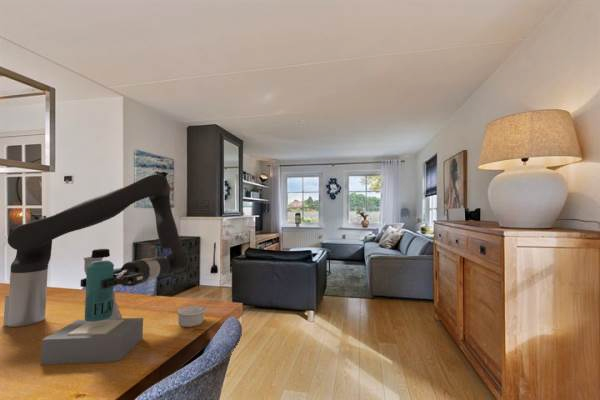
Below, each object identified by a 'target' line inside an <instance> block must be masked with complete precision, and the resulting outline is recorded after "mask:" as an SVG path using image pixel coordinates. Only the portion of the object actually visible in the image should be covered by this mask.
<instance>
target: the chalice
mask: <svg viewBox="0 0 600 400" xmlns="http://www.w3.org/2000/svg"><path fill="white" fill-rule="evenodd" d="M103 259H104V257H103V258H91V256H86V257H83V260H84V265H83V266H84V267H83V268H84V269H83V270H84V274H86V272H87V269H86V267H87V266H88V265H89V264H90V263H91V262H95V261H103ZM83 302H84V303H85V300H84V301H83Z"/></svg>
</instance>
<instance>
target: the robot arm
mask: <svg viewBox="0 0 600 400" xmlns="http://www.w3.org/2000/svg"><path fill="white" fill-rule="evenodd" d="M170 190H171V189H170V185H169V181H168V179H167V178H166V177H165V175H162V174H161V173H152V174H148V175H146V176H144V177H142V178H140V179H138V180H135V181H133V182H132V183H129V184H127V185H125V186H123V187H120V188H116V189H114V190H111V191H109V192H106V193H104V194H103V193H102V194H100V195H98V196H95V197H93V198H90V199H87V200H84V201H82V202H80V203H78V204H75V205H73V206H71V207H68V208H66V209H64V210H62V211H60V212H58V213H56V214H53V215H51V216H48V217H45V218H44V217H43V218H41V219H38V220H34V221H30V222H27V223H23V224H20V225H17V226H16V227H15V228H13V229H12V230H11V231H10V232H9V234H8V236H7V243H8V245H9V246H10V248H12V249H14V250H15V251H16V255H15V258H14V259H13V261H12V263H11V264H10V273H9V288H8V294H7V295H4V308H3V309H4V310H3V324H2V325H3V326H7V327H10V328H19V327H25V326H29V325H30V326H31V325H34V324H36V323H40V322H42V321H44V320H45V319H46V305H47V291H48V274H49V273H48V271H49V269H48V268H49V263H50V261H51V257H52V249H53V248H52V247H53V240H55V239H57V238H58V237H61V236H63V235H66V234H68V233H72V232H75V231H79V230H83V229H87V228H89V227H93V226H95V225H98V224H101V223H103V222H105V221H107V220H111V219H112V218H114V217H116V216H117V215H119V214H120V213H122V212H123V211H125V210H126V209H127V208H129V206H131V205H133V204H134V203H137V202H138V201H141V200H144V199H147V198H148V199H149V201H150V203H151V205H152V208H153V211H154V217H155V226H156V231H157V233H156V234H157V236H158V241H159V244H160V248H161V249H162V250H171V252H172V253H170V254H169V255H165V256H154V257H149V258H142V259H136V260H133V261H132V260H131V261H128V262H125V263H124V264H123V265H122V266H121V268H116V269H114V278H110V279H106V280H102V281H101V289H106V288H109V287H113V288H114V287H120V286H123V287H134V286H138V285H140V284H144V283H147V282H150V281H152V280H155V279H157V278H160V277H163V276H168V275H169V276H170V275H172V274H174V273H177V272H180V271H182V270H184V269H186V268H188V266H189V264H190V255H189V254H188V251H186V249H185V247H184V246H183V243H182V241H181V240H180V236H179V232H178V229H177V223H176V221H175V218H174V215H173V211H172V208H171V207H172V206H171V198H170V197H171V195H170V193H171V192H170ZM80 287H81V288H86V277H84V278H83V277H82V278H81V279H80Z"/></svg>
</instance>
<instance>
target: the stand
mask: <svg viewBox="0 0 600 400" xmlns="http://www.w3.org/2000/svg"><path fill="white" fill-rule="evenodd" d="M143 327H144V317H128V318H122V317H121V318H120V319H105V320H101V321H95V322H88V321H85V319H76V320H75V321H72V322H71V323H69V324H68V325H66V326H64V327H62V328H61V329H59V330H57V331H55V332H53V333H51V334H49V335H47V336H45V337H44V338H43V339H41V352H40V353H41V354H40V366H43V365H64V364H65V365H66V364H69V365H70V364H85V363H86V364H88V363H107V362H108V363H109V362H110V363H111V362H120V361H122V359H123V358H125V356H126V355H127V354H128V353H130V351H132V350H133V348H134V347H135V346H137V344H139V342H140V341H142V340H143V333H144V332H143V331H144V329H143Z"/></svg>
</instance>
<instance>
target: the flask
mask: <svg viewBox="0 0 600 400" xmlns="http://www.w3.org/2000/svg"><path fill="white" fill-rule="evenodd" d="M116 292H117V290H116V289H113V294H114V296H113V312H112V316H111V317H110V318H108V319H120V318H122V316H123V315H122V314H121V311H120V309H119V306H118V304H117V301H116V296H115V295H116Z"/></svg>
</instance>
